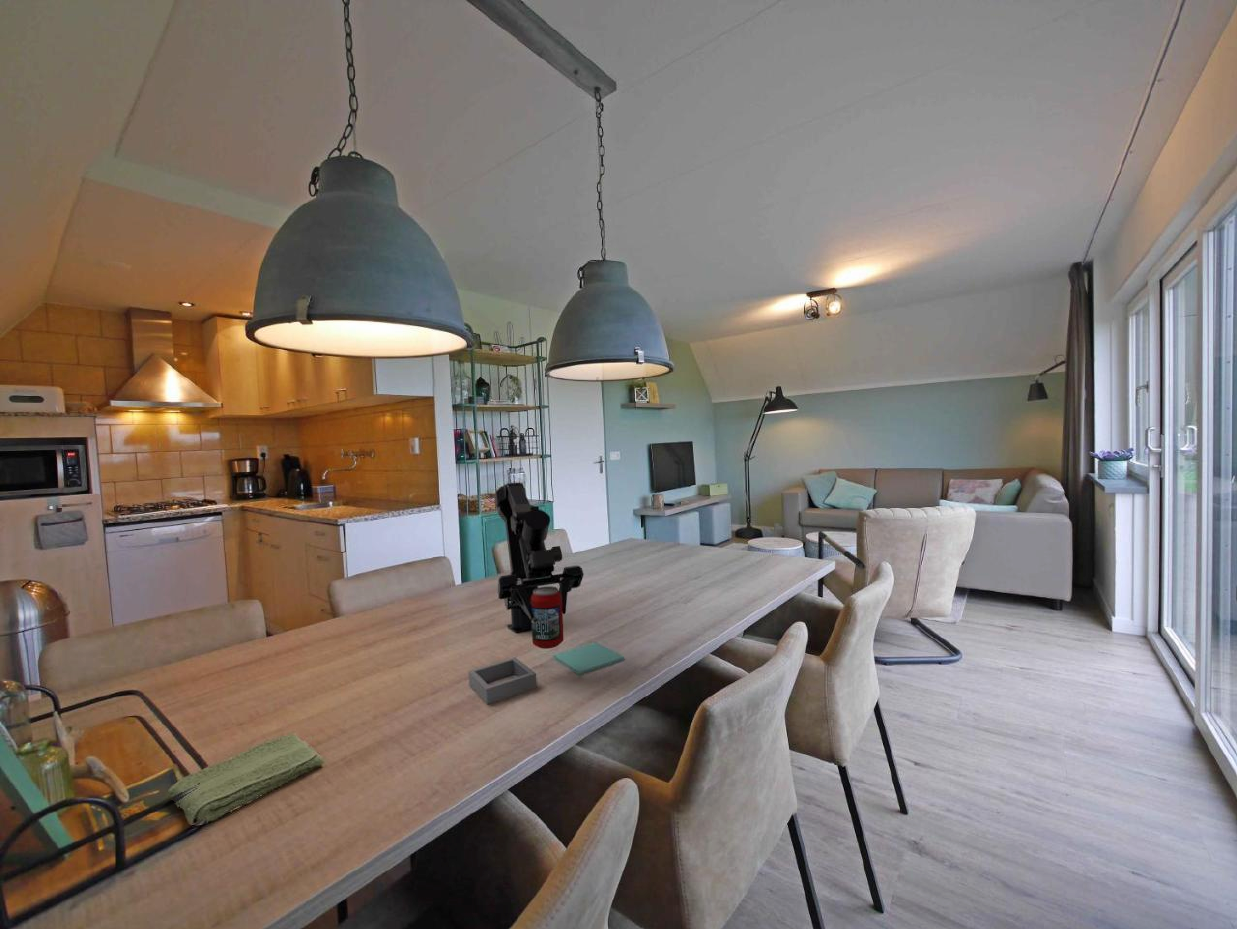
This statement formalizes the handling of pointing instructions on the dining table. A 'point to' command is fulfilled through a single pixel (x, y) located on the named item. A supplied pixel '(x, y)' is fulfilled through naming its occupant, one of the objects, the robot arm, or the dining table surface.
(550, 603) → the beverage can
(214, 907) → the dining table surface
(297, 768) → the washcloth
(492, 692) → the can holder
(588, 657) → the teal mat
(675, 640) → the dining table surface
